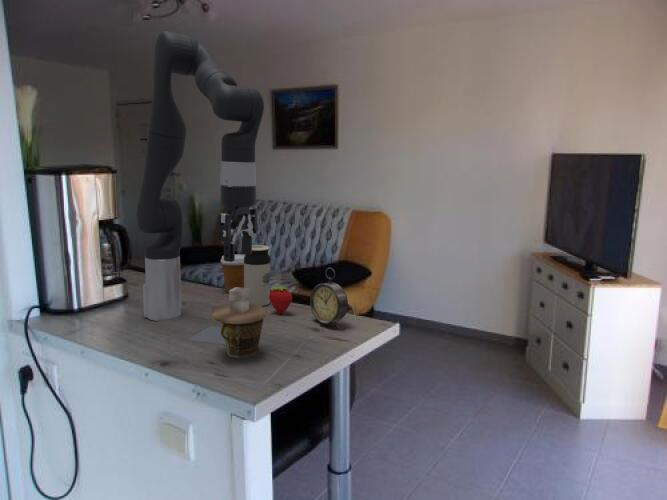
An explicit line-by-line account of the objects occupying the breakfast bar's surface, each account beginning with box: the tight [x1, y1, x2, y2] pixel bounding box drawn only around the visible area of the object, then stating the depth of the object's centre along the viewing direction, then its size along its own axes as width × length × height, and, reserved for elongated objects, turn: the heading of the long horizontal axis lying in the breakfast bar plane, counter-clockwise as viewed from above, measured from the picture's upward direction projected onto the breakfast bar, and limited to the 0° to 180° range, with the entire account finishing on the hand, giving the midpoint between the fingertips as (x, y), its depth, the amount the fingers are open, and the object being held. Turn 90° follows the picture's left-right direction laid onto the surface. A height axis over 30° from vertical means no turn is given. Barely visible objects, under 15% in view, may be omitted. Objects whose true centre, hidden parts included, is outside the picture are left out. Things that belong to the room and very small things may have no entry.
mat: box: [187, 325, 226, 346], centre depth 128 cm, size 11×11×1 cm
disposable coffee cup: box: [220, 253, 246, 293], centre depth 171 cm, size 10×10×12 cm
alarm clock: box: [309, 267, 349, 330], centre depth 138 cm, size 11×5×16 cm, turn 47°
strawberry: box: [269, 281, 293, 316], centre depth 147 cm, size 6×8×10 cm
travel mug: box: [244, 244, 271, 307], centre depth 156 cm, size 8×8×18 cm
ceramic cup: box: [220, 319, 264, 359], centre depth 115 cm, size 13×10×10 cm
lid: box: [211, 287, 267, 324], centre depth 113 cm, size 12×12×6 cm
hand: (238, 257), depth 111 cm, fingers open, 8 cm apart
